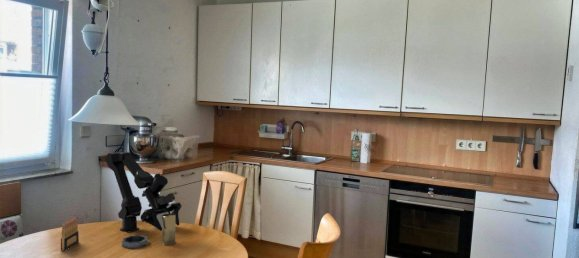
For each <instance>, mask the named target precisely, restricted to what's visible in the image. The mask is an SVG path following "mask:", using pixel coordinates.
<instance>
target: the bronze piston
mask: <svg viewBox="0 0 579 258" xmlns="http://www.w3.org/2000/svg"><path fill="white" fill-rule="evenodd" d="M161 233H162V235H161V236H162V237H161V239H162V240H161V241H162V245H163V246H173V245H175V244H176V223H175V214H164V215H162V232H161Z"/></svg>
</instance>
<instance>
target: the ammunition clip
mask: <svg viewBox="0 0 579 258" xmlns="http://www.w3.org/2000/svg"><path fill="white" fill-rule="evenodd" d="M78 229H79V227H78V219H77V216H76V215H75V216H72V217H70V218H69V219H67V220H65V221H63V222H62V226H61V238H60V251H61V250H66V249H67V250H69V249H71V248H72V247H74V246H75V245H77V244H78V243H79V241H80V240H79V239H80V238H79V236H80V235H79V230H78ZM73 245H74V246H73ZM71 246H72V247H71ZM70 247H71V248H70ZM68 248H69V249H68ZM67 250H66V251H67Z"/></svg>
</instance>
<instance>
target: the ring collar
mask: <svg viewBox="0 0 579 258" xmlns="http://www.w3.org/2000/svg"><path fill="white" fill-rule="evenodd" d="M147 245H149V241H148V236H145V235H141V234H138V235H137V234H136V235H129V236H125V237H123V239H122V241H121V248H124V249H128V250H129V249H132V250H133V249H139V248H140V249H141V248H144V247H146V246H147Z"/></svg>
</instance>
